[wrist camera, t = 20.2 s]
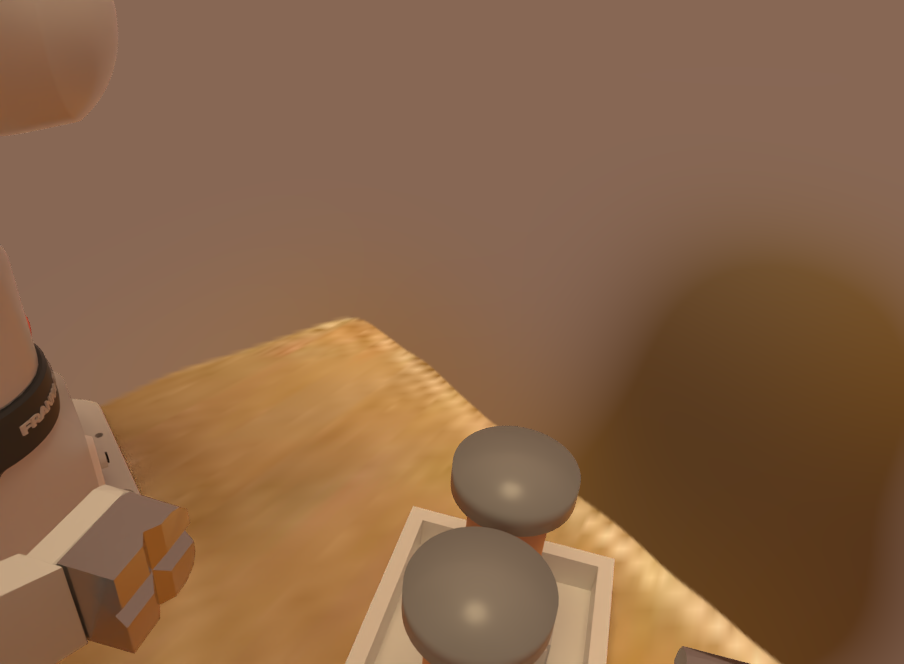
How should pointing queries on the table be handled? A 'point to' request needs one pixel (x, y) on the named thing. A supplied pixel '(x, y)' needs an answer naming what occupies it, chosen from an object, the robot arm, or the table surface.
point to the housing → (578, 617)
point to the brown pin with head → (478, 599)
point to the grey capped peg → (515, 482)
